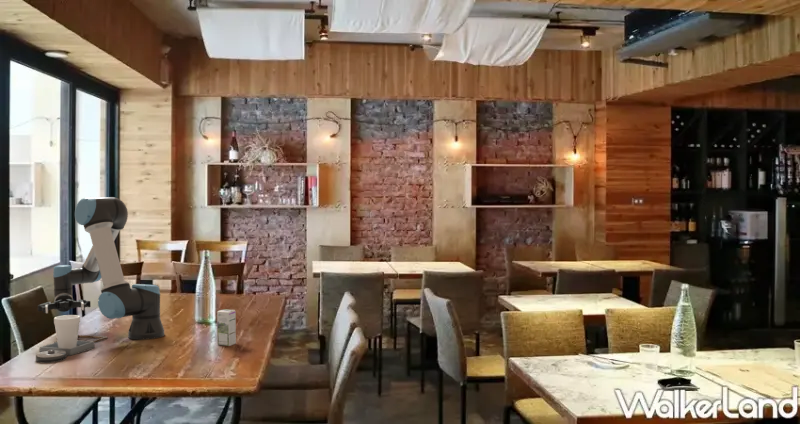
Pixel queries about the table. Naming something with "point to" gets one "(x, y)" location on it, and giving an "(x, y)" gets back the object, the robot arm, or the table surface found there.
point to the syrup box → (226, 327)
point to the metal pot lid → (51, 356)
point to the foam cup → (67, 330)
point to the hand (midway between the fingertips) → (64, 308)
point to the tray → (79, 348)
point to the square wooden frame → (100, 338)
